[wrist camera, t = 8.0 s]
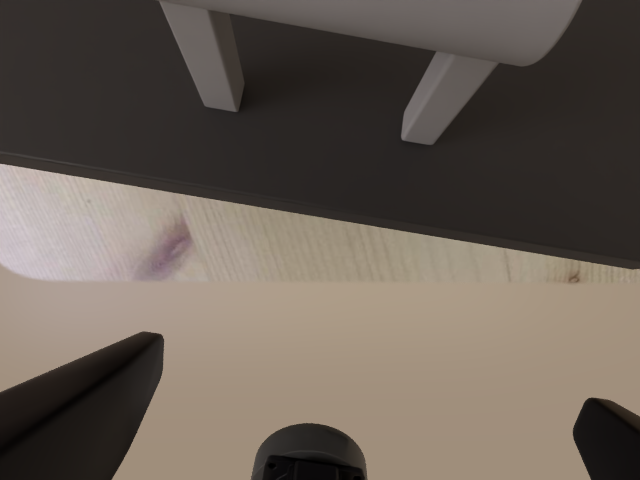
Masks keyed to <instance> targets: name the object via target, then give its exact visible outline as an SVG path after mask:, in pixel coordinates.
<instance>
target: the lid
mask: <svg viewBox="0 0 640 480" xmlns="http://www.w3.org/2000/svg"><path fill="white" fill-rule="evenodd" d="M0 164H6V165H12V166H18V167H24V168H30V169H36V170H42V171H48V172H54V173H60V174H66V175H72V176H78V177H84V178H90V179H96V180H102V181H108V182H114V183H120V184H126V185H132V186H138V187H144V188H150V189H156V190H162V191H168V192H174V193H179V194H185V195H191V196H197V197H203V198H209V199H215V200H221V201H227V202H233V203H239V204H245V205H251V206H257V207H263V208H269V209H275V210H281V211H287V212H293V213H299V214H305V215H311V216H317V217H323V218H329V219H335V220H341V221H347V222H353V223H359V224H365V225H371V226H377V227H382V228H388V229H394V230H400V231H406V232H412V233H418V234H424V235H430V236H436V237H442V238H448V239H454V240H460V241H466V242H472V243H478V244H484V245H490V246H496V247H502V248H508V249H514V250H520V251H526V252H532V253H538V254H544V255H550V256H556V257H562V258H568V259H574V260H579V261H585V262H591V263H597V264H603V265H609V266H615V267H621V268H627V269H640V0H0Z"/></svg>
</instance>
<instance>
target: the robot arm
mask: <svg viewBox="0 0 640 480" xmlns="http://www.w3.org/2000/svg"><path fill="white" fill-rule="evenodd" d="M163 351H164V339H163V336H162V335H161V334H157V333H151V332H140V333H138V334H135V335H133V336H131V337H128V338H126V339H124V340H121V341H119V342H117V343H114V344H112V345H110V346H107V347H105V348H103V349H100V350H98V351H96V352H93V353H91V354H89V355H87V356H84V357H82V358H79V359H77V360H75V361H72V362H70V363H68V364H65V365H63V366H61V367H58V368H56V369H54V370H51V371H49V372H47V373H44V374H42V375H40V376H37V377H35V378H33V379H30V380H28V381H26V382H23V383H21V384H18V385H16V386H14V387H12V388H9V389H7V390H4V391H2V392H0V480H112V478H113V476H114V475H115V473H116V471H117V469H118V468H119V466H120V464H121V463H122V461H123V459H124V457H125V455H126V454H127V452H128V450H129V448H130V446H131V444H132V442H133V439H134V437H135V435H136V433H137V431H138V428H139V426H140V424H141V421H142V419H143V417H144V415H145V413H146V410H147V408H148V406H149V404H150V401H151V399H152V397H153V395H154V392H155V390H156V388H157V386H158V383H159V381H160V378H161V375H162V371H163ZM573 437H574V441H575V443H576V446H577V448H578V450H579V453H580V455H581V457H582V460H583V462H584V464H585V466H586V469H587V471H588V473H589V475H590V478H591V480H640V417H639V416H638V415H636V414H634V413H632V412H631V411H629V410H627V409H625V408H624V407H622V406H620V405H618V404H616V403H615V402H613V401H610V400H606V399H599V398H588V399H587V400H586V401H585V403H584V405H583V407H582V409H581V411H580V414H579V416H578V418H577V420H576V423H575V425H574V428H573ZM272 463H275V464H272ZM357 475H358V476H357ZM262 480H365V474H364V470H363V469H362V468H359V467H353V466H346V465H340V464H333V463H326V462H320V461H313V460H306V459H299V458H293V457H286V456H279V455H269V456H268V457H266V460H265V466H264V472H263V478H262Z"/></svg>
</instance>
